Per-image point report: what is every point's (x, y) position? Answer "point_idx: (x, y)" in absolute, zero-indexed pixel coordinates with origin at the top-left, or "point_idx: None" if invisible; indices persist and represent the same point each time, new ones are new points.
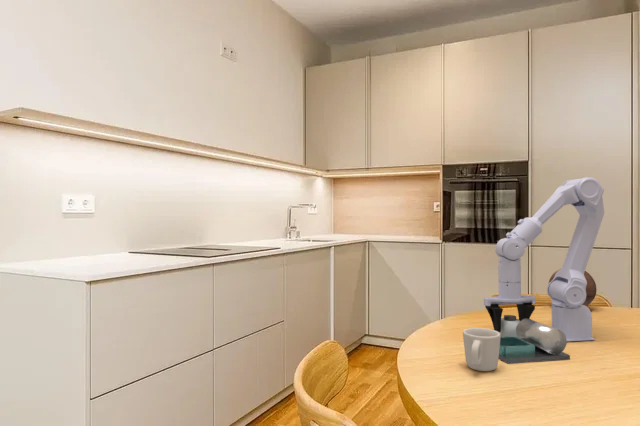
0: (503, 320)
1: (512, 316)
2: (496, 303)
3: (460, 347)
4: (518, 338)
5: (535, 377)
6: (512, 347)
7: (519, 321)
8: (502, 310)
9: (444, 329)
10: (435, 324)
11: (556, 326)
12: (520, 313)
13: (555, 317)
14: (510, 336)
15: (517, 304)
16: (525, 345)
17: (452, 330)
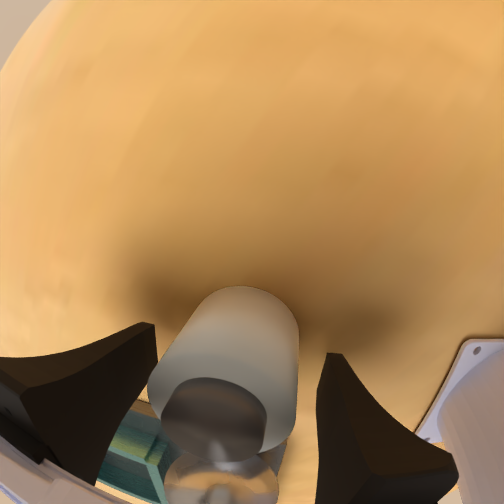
0: (155, 406)
1: (221, 447)
2: (40, 475)
3: (22, 343)
4: (155, 477)
5: (129, 499)
6: (107, 484)
7: (261, 449)
8: (93, 483)
9: (29, 97)
10: (48, 12)
11: (453, 445)
12: (339, 445)
13: (467, 475)
14: (137, 458)
15: (364, 487)
16: (144, 498)
17: (43, 116)
